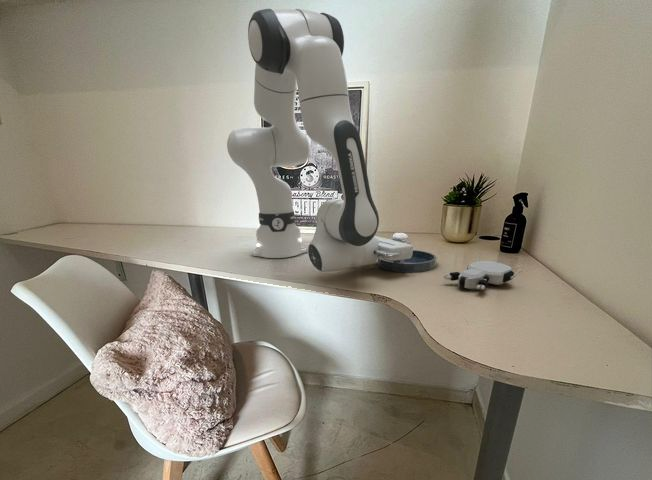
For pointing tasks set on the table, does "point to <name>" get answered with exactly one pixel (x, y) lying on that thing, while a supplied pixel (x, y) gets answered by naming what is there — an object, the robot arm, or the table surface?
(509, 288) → the table surface
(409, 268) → the blue round tray
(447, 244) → the table surface
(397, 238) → the salt shaker
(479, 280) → the robot toy
